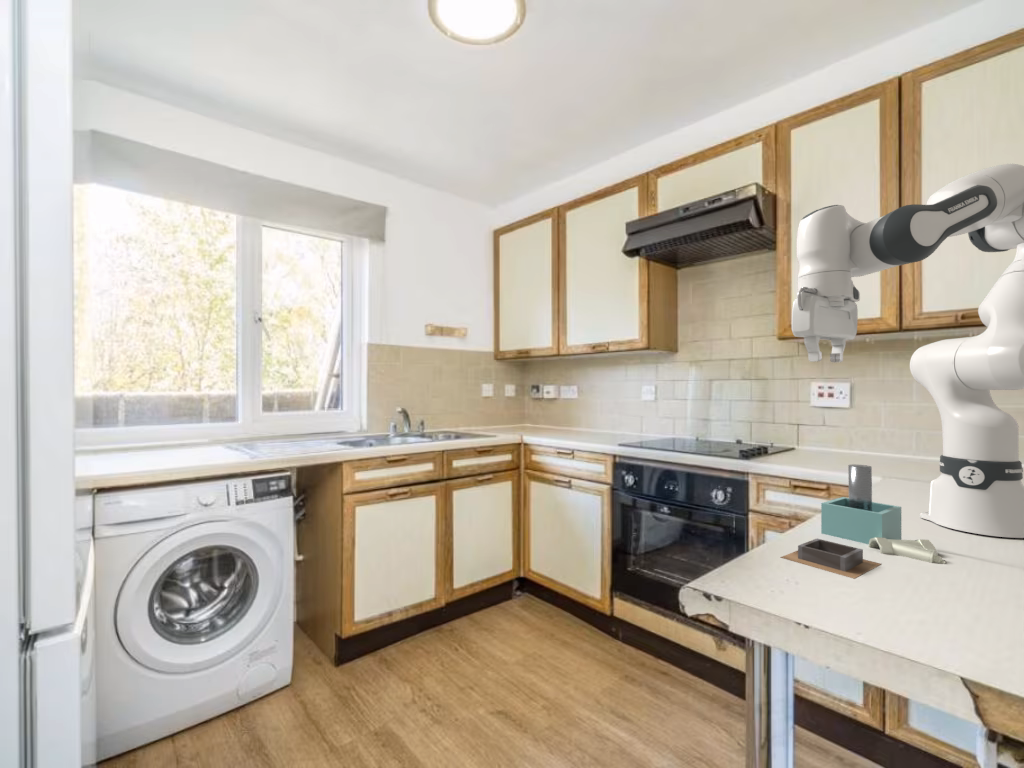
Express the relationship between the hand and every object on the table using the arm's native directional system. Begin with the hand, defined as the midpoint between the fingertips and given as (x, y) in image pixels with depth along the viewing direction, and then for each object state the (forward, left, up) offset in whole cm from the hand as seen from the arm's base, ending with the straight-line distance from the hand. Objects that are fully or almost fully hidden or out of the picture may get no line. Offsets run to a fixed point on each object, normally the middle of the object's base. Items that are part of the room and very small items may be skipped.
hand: (826, 361), depth 93 cm
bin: (+2, +6, -33) cm, 34 cm away
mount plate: (+21, +9, -33) cm, 40 cm away
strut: (+2, +6, -32) cm, 33 cm away
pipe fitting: (+7, +15, -34) cm, 38 cm away
